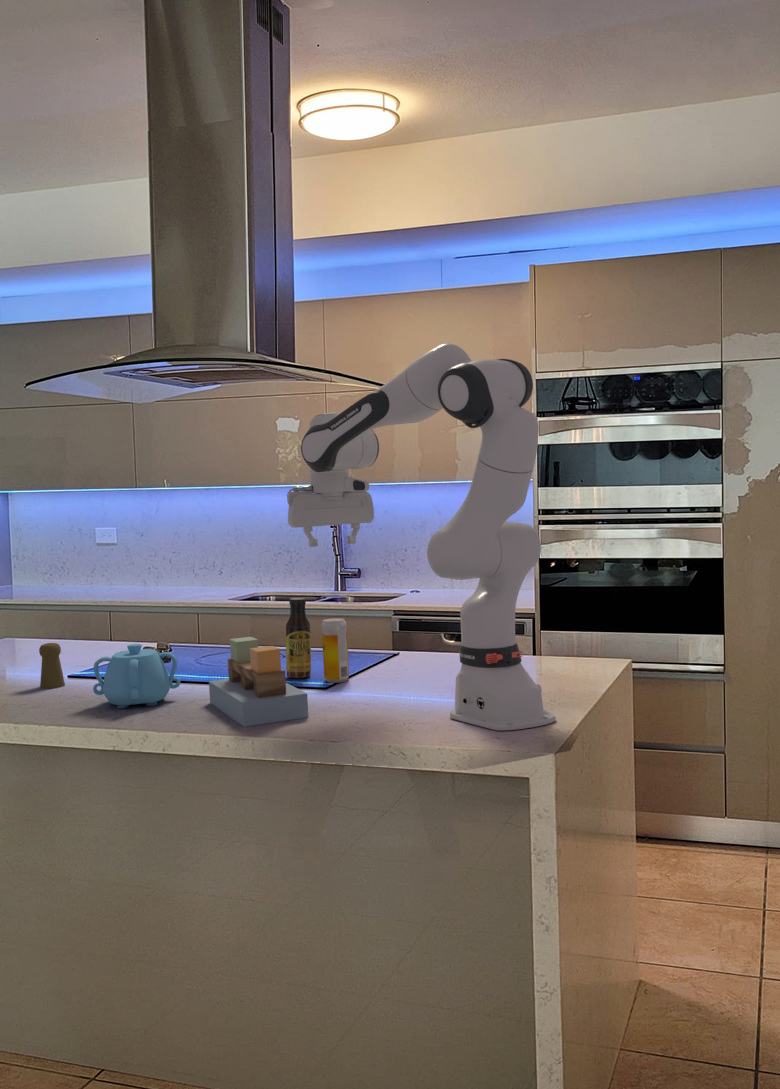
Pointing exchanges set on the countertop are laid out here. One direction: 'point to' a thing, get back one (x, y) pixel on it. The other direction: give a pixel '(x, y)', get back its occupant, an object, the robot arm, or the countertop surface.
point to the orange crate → (265, 659)
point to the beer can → (335, 650)
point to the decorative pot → (136, 677)
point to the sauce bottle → (298, 641)
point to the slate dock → (257, 703)
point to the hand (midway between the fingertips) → (332, 545)
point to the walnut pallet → (257, 679)
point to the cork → (51, 666)
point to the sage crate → (242, 648)
